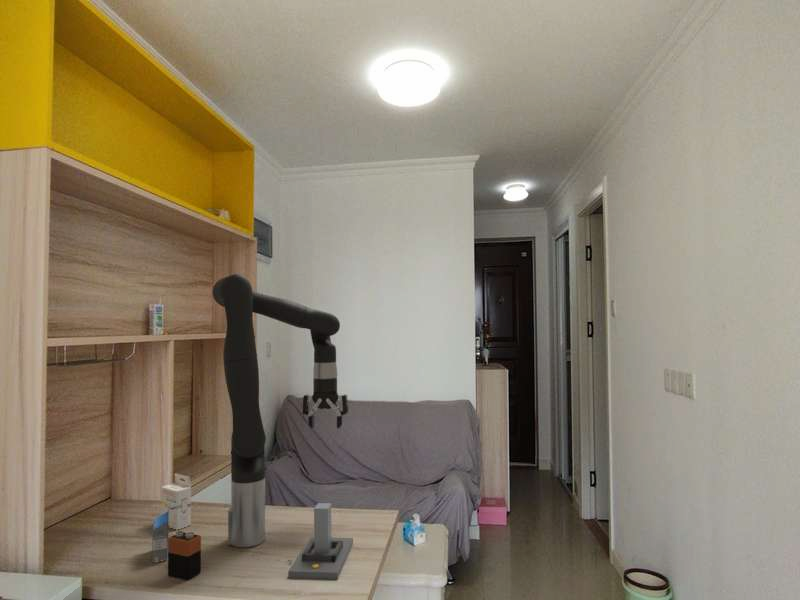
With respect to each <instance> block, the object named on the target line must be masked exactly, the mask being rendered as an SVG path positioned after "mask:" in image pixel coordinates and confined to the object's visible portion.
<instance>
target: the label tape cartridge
mask: <svg viewBox="0 0 800 600" xmlns="http://www.w3.org/2000/svg"><path fill="white" fill-rule="evenodd" d="M169 505H170V502H169ZM152 525H153V527H152V538H151V539H152V544H151V545H152V548H151V551H152V554H151V563H152V562H156V561H161V560H167V559H168V538H169V537H170V536H169V533H170V532H169V529H170V528H169V509H168V512H166V513H164V514H163V515H159V516H157V517H155V518H154V520H153V524H152ZM167 561H168V560H167Z"/></svg>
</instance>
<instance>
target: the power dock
mask: <svg viewBox="0 0 800 600" xmlns="http://www.w3.org/2000/svg"><path fill="white" fill-rule="evenodd" d="M331 538H332V550H331V552H330V554H322V553H314V536H310V537H309V538H308V540H307V542H306V543H305V545H304V547H303V548H302V549H301V551H300V553H299V554H298V555H297V557H296V559H295V561H294V562H293V563H292V565H291V566H290V568H289V570H288V573H287V575H288V576H287V577H288V578H289V579H316V580H317V579H319V580H338V579H339V578H340V574H341V572H342V570H343V569H344V565H345V564H346V561H347V559H348V556H349V554H350V552H351V549H352V547H353V545H354V537H331Z"/></svg>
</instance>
